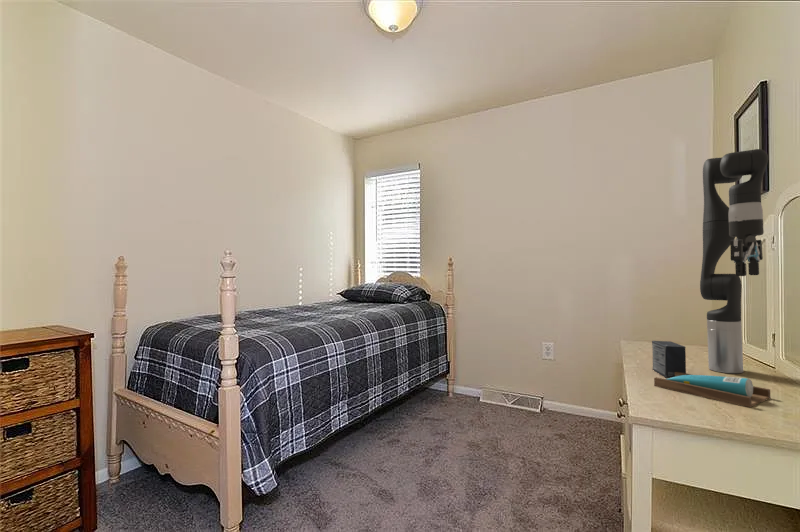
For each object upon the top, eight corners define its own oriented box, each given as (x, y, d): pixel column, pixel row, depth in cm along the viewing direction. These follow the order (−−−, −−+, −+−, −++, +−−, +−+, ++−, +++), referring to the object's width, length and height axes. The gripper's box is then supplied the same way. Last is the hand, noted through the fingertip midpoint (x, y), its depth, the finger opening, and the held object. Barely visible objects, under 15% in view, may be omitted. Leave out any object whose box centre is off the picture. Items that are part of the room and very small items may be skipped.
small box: (688, 378, 127) (687, 346, 127) (665, 378, 129) (664, 345, 129) (672, 370, 138) (671, 340, 138) (651, 370, 139) (650, 340, 139)
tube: (756, 396, 107) (678, 384, 124) (755, 378, 108) (677, 369, 125) (744, 398, 104) (665, 385, 120) (743, 379, 104) (665, 369, 121)
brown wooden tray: (676, 379, 127) (676, 371, 127) (770, 398, 107) (770, 389, 107) (654, 385, 121) (654, 377, 121) (749, 407, 101) (749, 397, 101)
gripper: (740, 222, 121) (742, 275, 121) (718, 220, 114) (720, 276, 114) (772, 219, 115) (774, 275, 115) (751, 216, 108) (753, 276, 108)
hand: (747, 275), depth 114 cm, fingers open, 8 cm apart
